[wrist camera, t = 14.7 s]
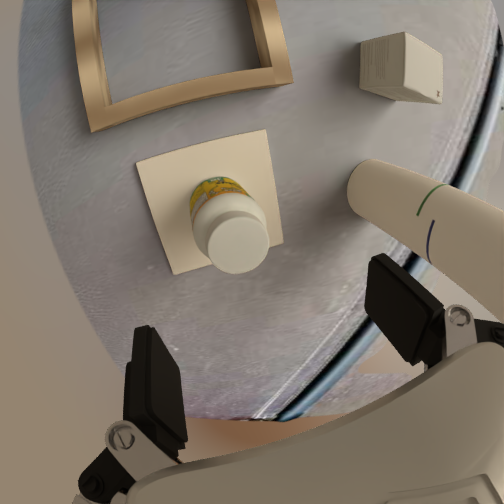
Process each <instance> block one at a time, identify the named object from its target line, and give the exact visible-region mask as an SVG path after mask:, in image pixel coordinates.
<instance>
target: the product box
mask: <svg viewBox="0 0 504 504" xmlns="http://www.w3.org/2000/svg"><path fill="white" fill-rule="evenodd" d="M442 72H443V65H442V55H441V54H440V53H439V52H437V51H436V50H434V49H433V48H431V47H430V46H428V45H426V44H425V43H423V42H422V41H420V40H418V39H417V38H415V37H413V36H412V35H410V34H408V33H406V32H401V33H396V34H391V35H387V36H382V37H378V38H374V39H370V40H366V41H362V42H361V44H360V78H359V88H360V89H363V90H366V91H369V92H372V93H375V94H378V95H381V96H384V97H387V98H390V99H393V100H396V101H407V102H421V103H432V104H442V82H443V73H442Z"/></svg>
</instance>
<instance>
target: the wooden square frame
mask: <svg viewBox="0 0 504 504" xmlns="http://www.w3.org/2000/svg"><path fill="white" fill-rule="evenodd" d="M246 3H247V7H248V11H249V15H250V20H251V24H252V28H253V32H254V37H255V41H256V46H257V51H258V55H259V60H260V65H261V68H259V69H251V70H243V71H236V72H230V73H224V74H219V75H213V76H208V77H203V78H199V79H194V80H190V81H186V82H182V83H178V84H174V85H170V86H166V87H163V88H159V89H156V90H153V91H149V92H146V93H143V94H140V95H137V96H134V97H131V98H128V99H125V100H123V101H120V102H117V103H115V104H112V101H111V96H110V91H109V86H108V81H107V76H106V70H105V65H104V59H103V52H102V46H101V39H100V31H99V22H98V12H97V0H72V14H73V28H74V39H75V48H76V56H77V63H78V70H79V76H80V82H81V88H82V93H83V98H84V103H85V108H86V112H87V117H88V121H89V125H90V129H91V133H92V132H98V131H103V130H105V129H108V128H110V127H113V126H115V125H118V124H121V123H124V122H126V121H129V120H132V119H135V118H138V117H141V116H144V115H147V114H150V113H153V112H156V111H160V110H163V109H167V108H170V107H174V106H177V105H181V104H185V103H189V102H193V101H197V100H202V99H206V98H211V97H215V96H220V95H225V94H231V93H236V92H242V91H249V90H255V89H262V88H270V87H279V86H284V85H287V84H291V83H294V82H293V77H292V72H291V67H290V62H289V57H288V52H287V48H286V43H285V39H284V34H283V30H282V26H281V22H280V18H279V14H278V10H277V6H276V2H275V0H246Z"/></svg>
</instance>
